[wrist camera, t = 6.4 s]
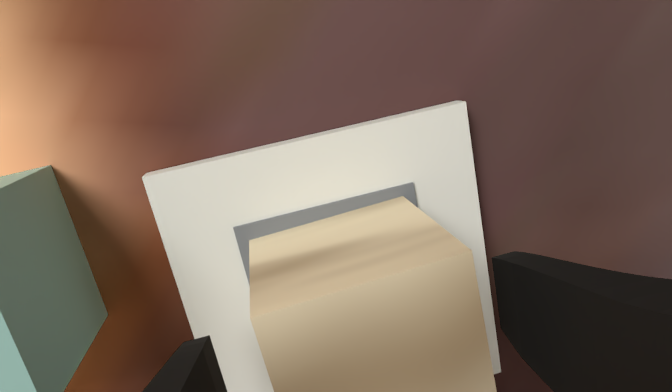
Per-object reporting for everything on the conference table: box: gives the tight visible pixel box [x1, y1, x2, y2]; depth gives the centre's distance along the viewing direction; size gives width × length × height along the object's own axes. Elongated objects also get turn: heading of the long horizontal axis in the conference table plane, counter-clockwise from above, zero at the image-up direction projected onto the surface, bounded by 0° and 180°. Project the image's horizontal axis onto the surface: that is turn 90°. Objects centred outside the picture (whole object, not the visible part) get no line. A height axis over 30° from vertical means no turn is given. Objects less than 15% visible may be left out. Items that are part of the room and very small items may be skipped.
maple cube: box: [249, 196, 497, 392], centre depth 12 cm, size 4×4×4 cm
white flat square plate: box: [142, 101, 501, 392], centre depth 15 cm, size 9×9×1 cm
